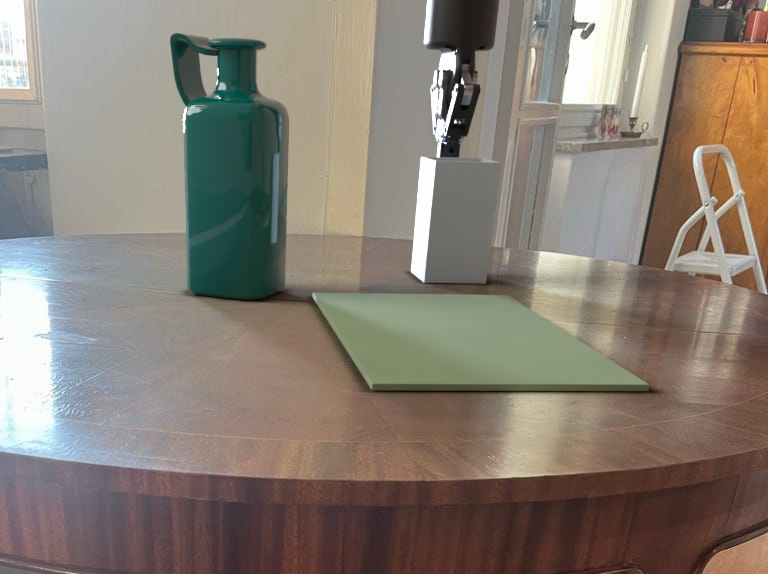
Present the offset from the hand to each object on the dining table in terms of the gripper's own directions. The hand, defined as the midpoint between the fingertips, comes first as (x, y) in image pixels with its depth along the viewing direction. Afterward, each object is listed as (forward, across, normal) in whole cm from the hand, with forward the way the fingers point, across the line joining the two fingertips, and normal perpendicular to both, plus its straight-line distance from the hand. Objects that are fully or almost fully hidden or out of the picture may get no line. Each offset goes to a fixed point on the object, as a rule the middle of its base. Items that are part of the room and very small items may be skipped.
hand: (445, 179), depth 109 cm
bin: (+10, -6, 0) cm, 11 cm away
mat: (+10, -36, +7) cm, 38 cm away
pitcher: (+10, -16, +25) cm, 32 cm away
